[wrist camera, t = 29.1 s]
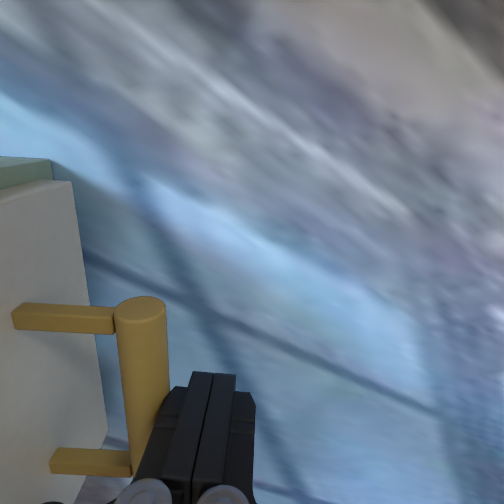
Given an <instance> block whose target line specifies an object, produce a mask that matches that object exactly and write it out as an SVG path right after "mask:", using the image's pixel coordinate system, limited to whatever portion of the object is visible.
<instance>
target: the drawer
mask: <svg viewBox="0 0 504 504" xmlns="http://www.w3.org/2000/svg"><path fill="white" fill-rule="evenodd" d="M115 332H116V338H117V347H118V355H119V364H120V372H121V381H122V389H123V397H124V406H125V414H126V423H127V431H128V440H129V448H130V451H123V450H103V449H100V447H101V445H102V443H103V441H104V439H105V437H106V435H107V433H108V423H107V416H106V410H105V403H104V396H103V389H102V383H101V376H100V369H99V362H98V356H97V349H96V342H95V335H94V334H105V335H113V334H114V333H115ZM169 392H170V380H169V360H168V339H167V318H166V306H165V304H164V302H163V301H162V300H160V299H158V298H155V297H150V296H140V297H134V298H130V299H127V300H125V301H123V302H121V303H120V304H119V305H118V306H117V307H100V306H90V302H89V295H88V288H87V281H86V275H85V268H84V261H83V254H82V247H81V241H80V234H79V227H78V220H77V214H76V207H75V200H74V193H73V187H72V182H70V181H59V180H42V179H40V180H36V181H32V182H28V183H25V184H21V185H17V186H13V187H9V188H5V189H2V190H0V504H42V503H45V502H51V501H56V502H61V503H64V504H74V502H75V500H76V497H77V495H78V493H79V491H80V489H81V487H82V485H83V483H84V481H85V479H86V477H87V476H105V477H125V478H131V476H132V474H133V479H134V477H135V474H136V472H137V469H138V467H139V464H140V461H141V459H142V456H143V453H144V451H145V448H146V445H147V443H148V440H149V437H150V435H151V432H152V429H153V428H154V424H155V421H156V419H157V416H158V415H159V411H160V408H161V405H162V403H163V400H164V398H165V397H166V396H167V395H168V393H169Z"/></svg>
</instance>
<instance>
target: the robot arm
mask: <svg viewBox="0 0 504 504" xmlns="http://www.w3.org/2000/svg"><path fill="white" fill-rule="evenodd" d="M235 388H236V375H235V374H223V373H215V374H214V373H209V372H197V371H193V372H192V375H191V378H190V381H189V385H188V387H179V386H175V387H174V388H173V389H172V390H171V391H170V392H169V393H168V395H167V396H166V397H165V398H164V400H163V403H162V405H161V408H160V411H159V415H158V416H157V419H156V421H155V424H154V428H153V429H152V432H151V435H150V437H149V440H148V443H147V445H146V448H145V451H144V453H143V456H142V459H141V461H140V464H139V467H138V469H137V472H136V474H135V477H134V479H133V481H132V482H131V484H130V485H129V486H127V487H126V488H125V489H124V490H123V491H122V492H121V493H120V494H119V496H118V497H117V498H116V499H114V500H113V501H111V502H109V503H107V504H257V503H256V501H255V498H254V495H253V489H252V481H253V458H254V434H255V411H256V405H255V403H254V400H253V398H252V396H251V394H250V392H239V391H235ZM42 504H64V503H61V502H56V501H51V502H45V503H42Z"/></svg>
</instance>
